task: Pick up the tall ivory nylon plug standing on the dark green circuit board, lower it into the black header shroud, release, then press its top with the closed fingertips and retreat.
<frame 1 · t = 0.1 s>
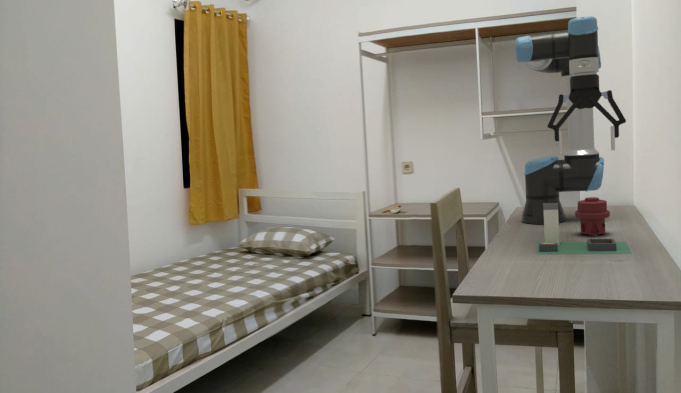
hand: (586, 151, 173), 28 cm above the table, fingers open, 13 cm apart
plug: (552, 244, 182), point 1 cm above the table, touching board
mechanical component: (593, 237, 192), on the table
board: (582, 251, 174), on the table
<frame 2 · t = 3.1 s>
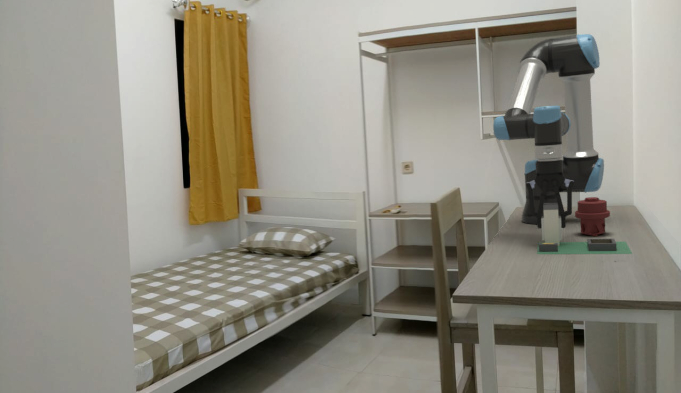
hand: (551, 238, 181), 3 cm above the table, fingers closed on plug, 4 cm apart
plug: (552, 244, 182), point 1 cm above the table, touching board, gripper
everything else where it was.
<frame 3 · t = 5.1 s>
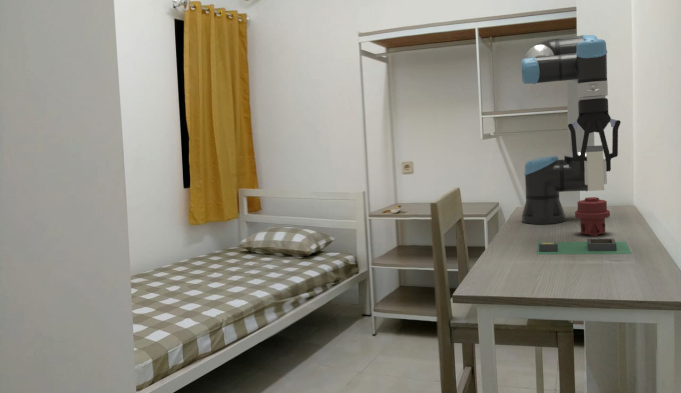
hand: (595, 183, 170), 19 cm above the table, fingers closed on plug, 4 cm apart
plug: (595, 189, 170), point 17 cm above the table, touching gripper
everything else where it was.
when the fingers open (4 cm above the table, at t = 7.3 s): plug drops 1 cm, resting on board.
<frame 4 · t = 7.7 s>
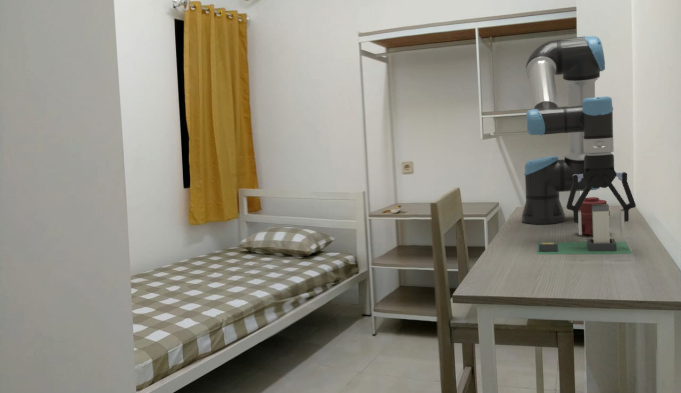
hand: (601, 233, 171), 5 cm above the table, fingers open, 10 cm apart
plug: (601, 247, 172), point 1 cm above the table, touching board
everything else where it was.
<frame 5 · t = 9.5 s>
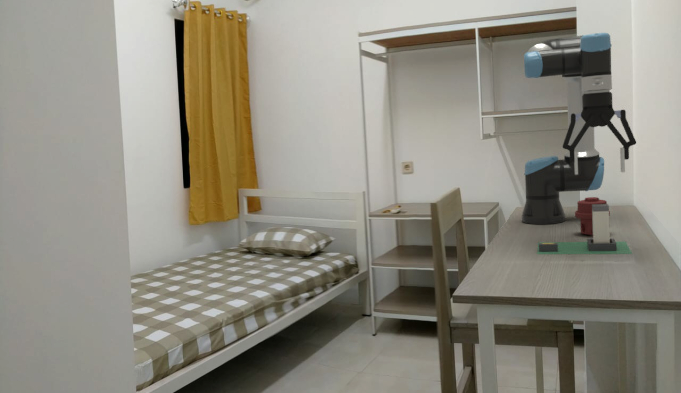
hand: (599, 173, 169), 22 cm above the table, fingers open, 11 cm apart
nothing on the table moved.
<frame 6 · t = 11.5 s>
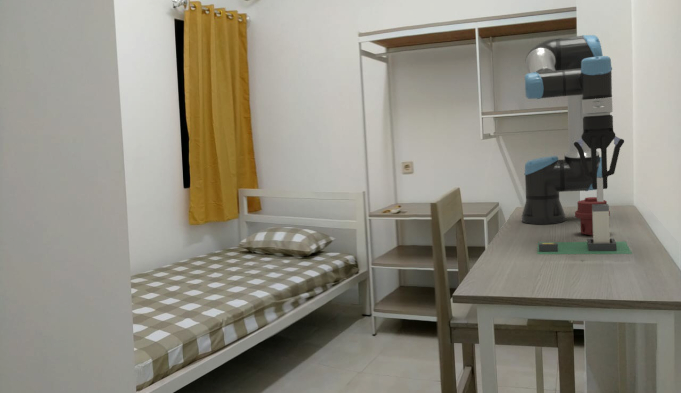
hand: (600, 200, 170), 14 cm above the table, fingers closed
nothing on the table moved.
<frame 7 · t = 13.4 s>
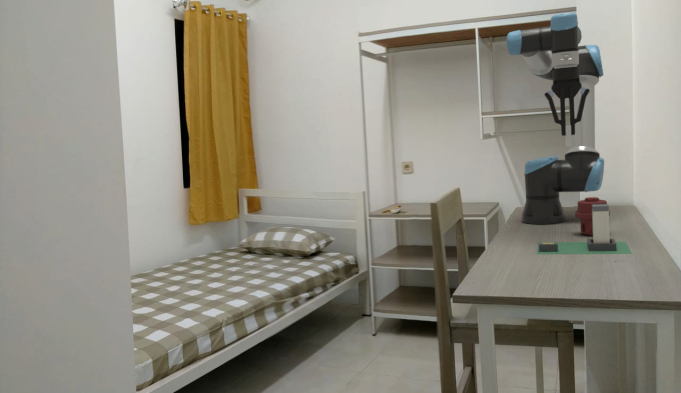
hand: (568, 146, 187), 29 cm above the table, fingers closed
nothing on the table moved.
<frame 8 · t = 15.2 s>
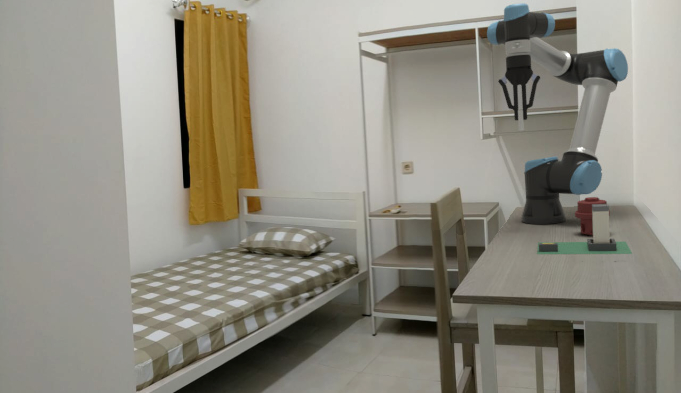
hand: (521, 130, 196), 34 cm above the table, fingers closed
nothing on the table moved.
at the end: plug 0.0 cm from the target spot on the board, point 1.1 cm above the board's base; plug tilted 0°; the gripper is holding nothing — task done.
